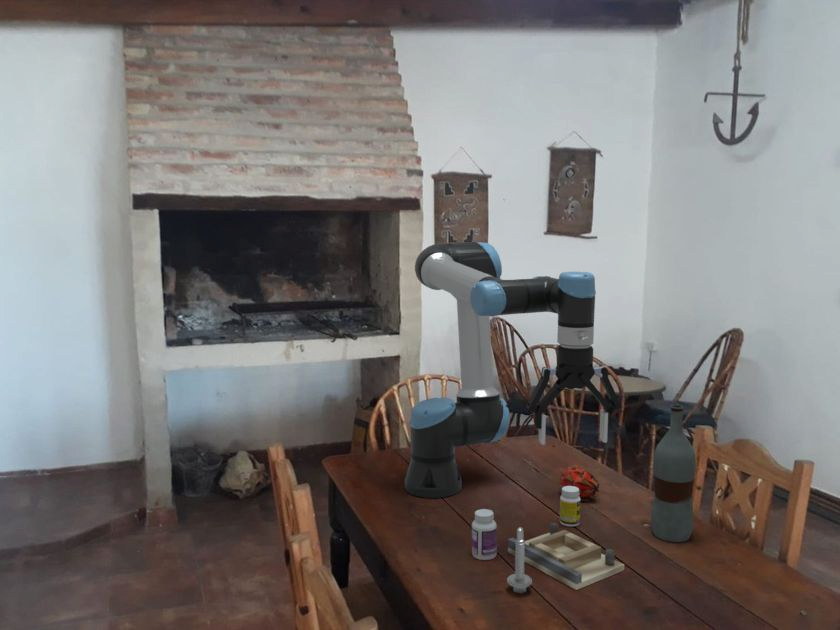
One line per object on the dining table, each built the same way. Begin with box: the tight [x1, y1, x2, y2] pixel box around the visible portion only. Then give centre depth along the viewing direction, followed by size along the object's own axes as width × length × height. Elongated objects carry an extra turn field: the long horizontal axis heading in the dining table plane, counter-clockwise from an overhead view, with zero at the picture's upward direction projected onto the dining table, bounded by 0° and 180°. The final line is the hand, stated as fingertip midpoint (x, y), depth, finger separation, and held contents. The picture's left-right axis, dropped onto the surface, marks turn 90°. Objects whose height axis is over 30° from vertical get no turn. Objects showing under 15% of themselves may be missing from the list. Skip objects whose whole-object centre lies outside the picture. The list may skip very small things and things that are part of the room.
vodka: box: [650, 404, 697, 543], centre depth 170 cm, size 9×9×30 cm
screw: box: [506, 526, 533, 594], centre depth 147 cm, size 13×5×5 cm
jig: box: [507, 522, 625, 591], centre depth 159 cm, size 20×14×4 cm
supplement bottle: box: [559, 486, 582, 527], centre depth 178 cm, size 5×5×8 cm
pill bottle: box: [471, 508, 498, 561], centre depth 162 cm, size 5×5×10 cm
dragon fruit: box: [557, 464, 600, 502], centre depth 194 cm, size 8×8×12 cm
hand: (572, 441), depth 164 cm, fingers open, 13 cm apart
